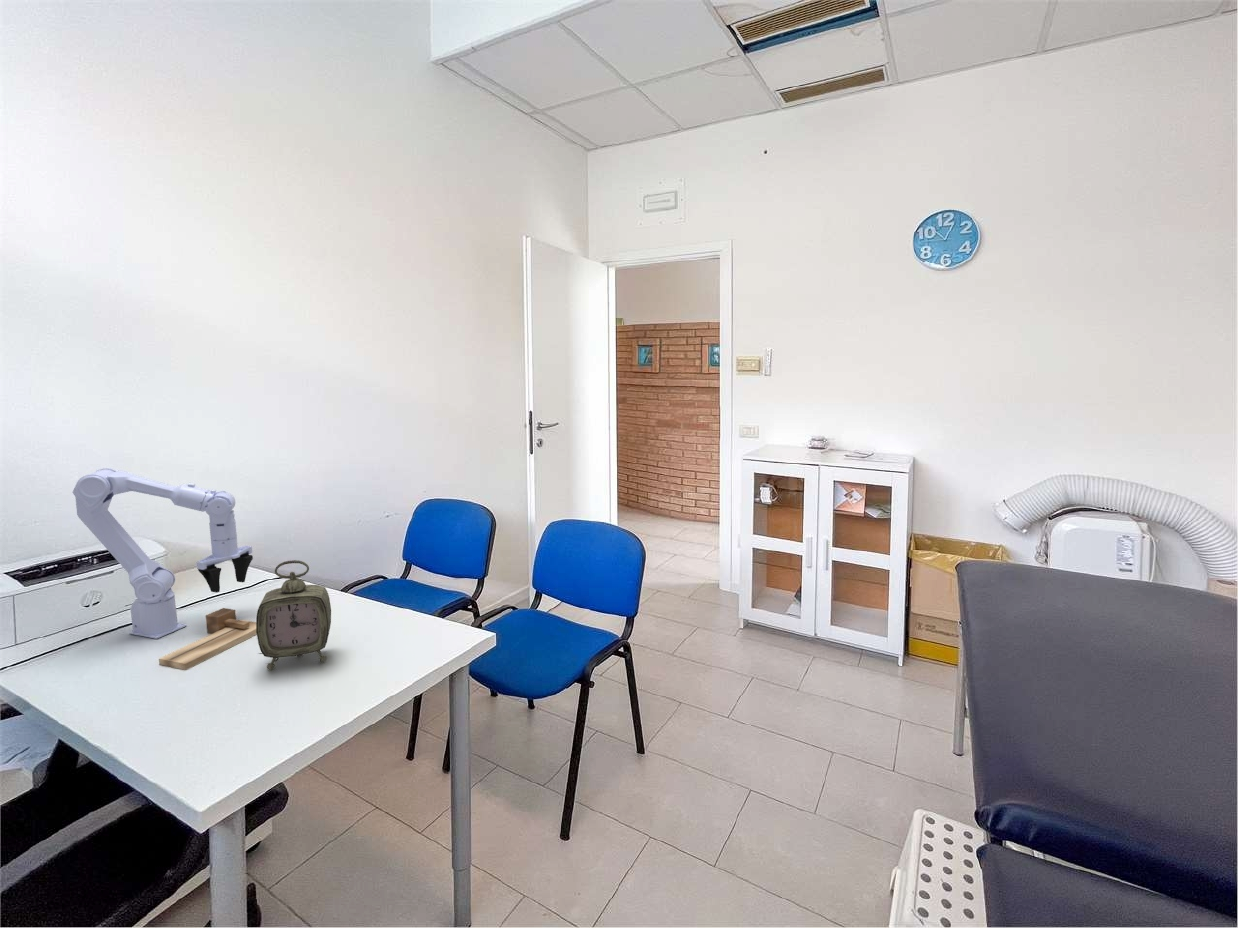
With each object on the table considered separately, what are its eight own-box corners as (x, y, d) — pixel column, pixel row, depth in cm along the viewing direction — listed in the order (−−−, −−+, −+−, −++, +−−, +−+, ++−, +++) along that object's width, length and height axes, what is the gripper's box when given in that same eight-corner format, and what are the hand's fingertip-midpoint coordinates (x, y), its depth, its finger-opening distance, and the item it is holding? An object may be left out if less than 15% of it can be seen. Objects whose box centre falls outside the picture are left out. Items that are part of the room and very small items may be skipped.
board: (159, 664, 134) (158, 658, 134) (243, 625, 155) (242, 619, 155) (185, 669, 132) (185, 663, 132) (267, 629, 153) (266, 623, 153)
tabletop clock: (260, 675, 131) (250, 569, 126) (267, 656, 139) (259, 557, 135) (331, 664, 136) (324, 563, 132) (334, 647, 144) (328, 551, 140)
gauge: (207, 633, 150) (205, 615, 149) (225, 625, 155) (223, 607, 154) (238, 639, 147) (237, 621, 147) (256, 631, 152) (254, 613, 151)
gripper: (210, 547, 146) (215, 598, 148) (259, 532, 159) (263, 578, 162) (188, 544, 147) (193, 594, 150) (239, 529, 161) (243, 576, 163)
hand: (228, 586), depth 156 cm, fingers open, 7 cm apart
